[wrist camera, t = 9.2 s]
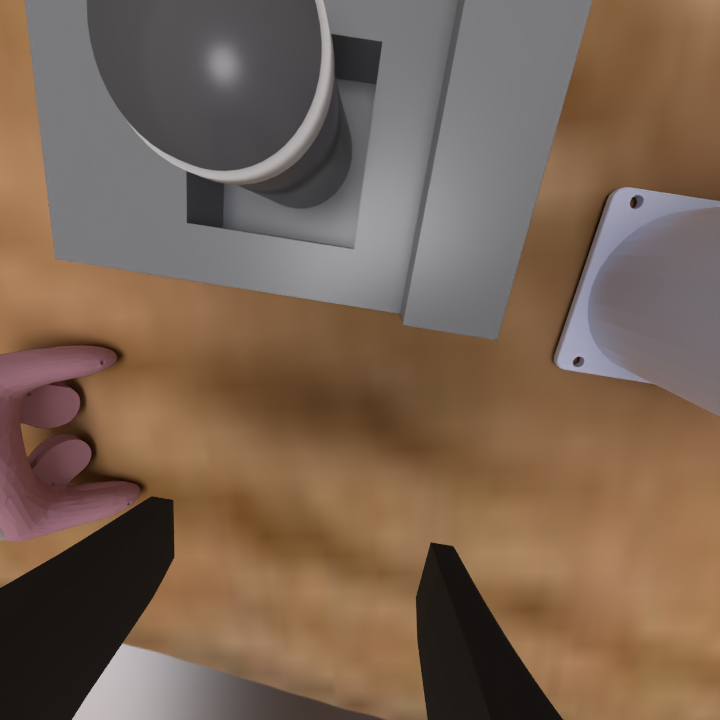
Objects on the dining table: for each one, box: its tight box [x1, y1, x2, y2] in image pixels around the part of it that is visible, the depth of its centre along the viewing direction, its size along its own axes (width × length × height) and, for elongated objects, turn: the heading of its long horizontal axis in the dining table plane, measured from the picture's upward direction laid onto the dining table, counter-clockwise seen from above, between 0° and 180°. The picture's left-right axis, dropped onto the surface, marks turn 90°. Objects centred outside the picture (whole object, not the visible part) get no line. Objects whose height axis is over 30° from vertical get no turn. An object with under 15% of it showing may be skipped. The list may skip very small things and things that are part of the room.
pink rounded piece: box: [0, 345, 140, 541], centre depth 18 cm, size 10×5×7 cm, turn 177°
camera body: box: [25, 0, 592, 340], centre depth 12 cm, size 16×10×6 cm, turn 82°
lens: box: [87, 0, 352, 209], centre depth 10 cm, size 5×5×8 cm
